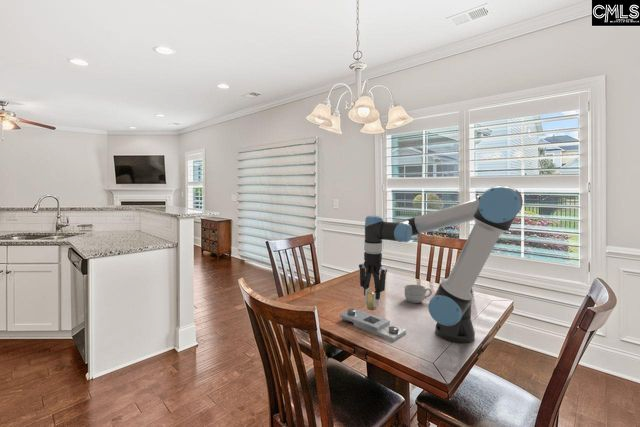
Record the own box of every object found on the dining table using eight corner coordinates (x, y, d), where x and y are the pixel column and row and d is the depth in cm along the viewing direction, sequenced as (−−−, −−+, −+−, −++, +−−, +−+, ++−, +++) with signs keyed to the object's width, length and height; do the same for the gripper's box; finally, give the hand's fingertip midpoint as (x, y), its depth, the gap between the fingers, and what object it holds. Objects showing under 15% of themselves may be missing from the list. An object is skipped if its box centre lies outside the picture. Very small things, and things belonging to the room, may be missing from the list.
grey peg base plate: (406, 333, 136) (406, 323, 136) (393, 341, 129) (393, 331, 129) (353, 314, 156) (353, 305, 155) (339, 320, 148) (339, 311, 148)
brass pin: (378, 308, 142) (378, 292, 141) (373, 311, 139) (373, 295, 138) (370, 306, 144) (370, 290, 144) (365, 308, 141) (365, 292, 141)
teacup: (401, 302, 171) (402, 287, 170) (406, 296, 180) (407, 282, 180) (429, 307, 164) (429, 292, 164) (432, 300, 174) (433, 286, 173)
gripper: (394, 253, 136) (393, 307, 138) (362, 247, 148) (361, 297, 150) (385, 256, 131) (383, 312, 133) (352, 250, 142) (351, 301, 144)
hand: (371, 304), depth 141 cm, fingers closed on brass pin, 4 cm apart
